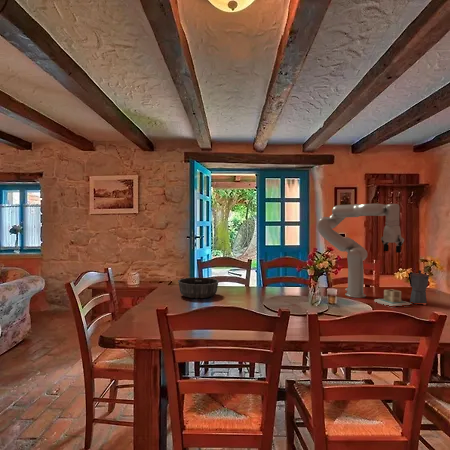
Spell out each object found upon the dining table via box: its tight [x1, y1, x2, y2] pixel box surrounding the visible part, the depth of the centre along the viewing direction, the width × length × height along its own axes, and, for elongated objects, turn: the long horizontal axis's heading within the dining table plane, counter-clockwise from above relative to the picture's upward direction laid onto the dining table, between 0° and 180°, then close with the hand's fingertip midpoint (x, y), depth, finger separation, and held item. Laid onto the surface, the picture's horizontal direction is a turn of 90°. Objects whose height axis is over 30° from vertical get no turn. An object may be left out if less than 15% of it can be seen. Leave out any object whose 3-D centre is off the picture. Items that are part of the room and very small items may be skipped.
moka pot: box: [408, 269, 430, 304], centre depth 200 cm, size 10×15×20 cm, turn 15°
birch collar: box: [383, 288, 402, 302], centre depth 199 cm, size 6×6×6 cm
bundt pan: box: [177, 276, 220, 299], centre depth 216 cm, size 26×26×10 cm
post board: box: [374, 298, 413, 307], centre depth 198 cm, size 14×14×2 cm
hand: (392, 251), depth 205 cm, fingers open, 9 cm apart
